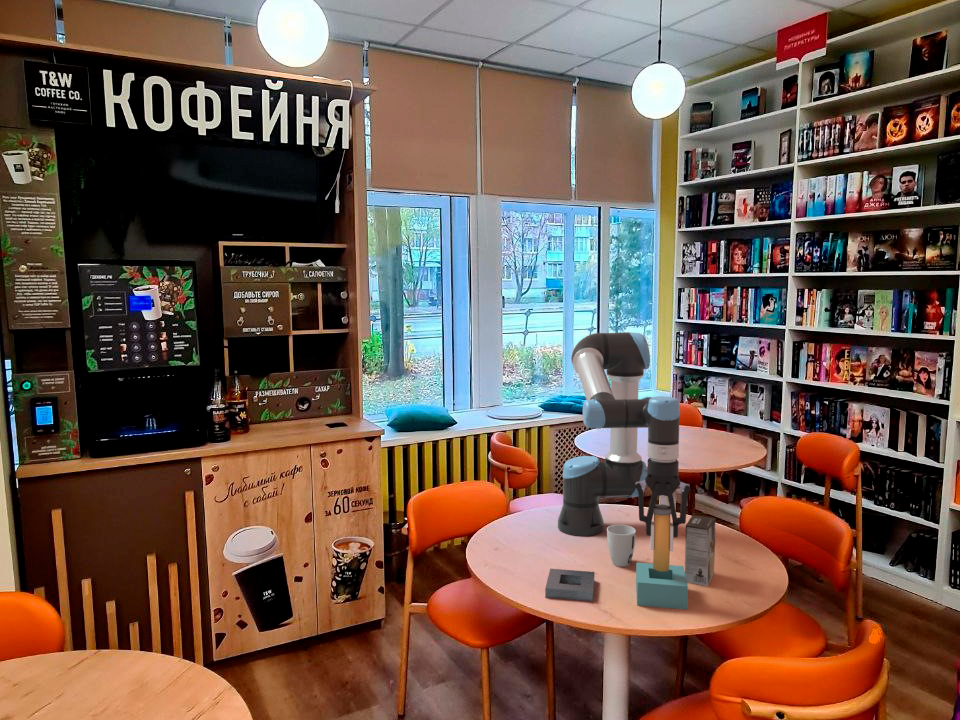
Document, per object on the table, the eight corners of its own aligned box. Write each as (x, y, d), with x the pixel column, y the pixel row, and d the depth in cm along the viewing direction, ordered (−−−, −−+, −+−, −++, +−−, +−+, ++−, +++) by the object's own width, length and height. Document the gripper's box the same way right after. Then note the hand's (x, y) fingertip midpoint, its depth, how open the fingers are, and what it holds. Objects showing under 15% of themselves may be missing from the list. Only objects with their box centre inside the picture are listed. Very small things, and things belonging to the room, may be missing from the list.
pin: (651, 563, 170) (652, 503, 168) (670, 564, 169) (671, 504, 167) (651, 571, 165) (652, 510, 163) (671, 572, 164) (672, 511, 162)
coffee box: (690, 569, 184) (692, 514, 182) (714, 573, 181) (716, 517, 179) (683, 582, 176) (685, 524, 174) (708, 587, 173) (710, 528, 171)
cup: (635, 570, 184) (636, 535, 183) (606, 567, 185) (606, 533, 184) (634, 558, 192) (635, 525, 191) (606, 556, 193) (606, 523, 192)
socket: (636, 584, 175) (636, 562, 174) (682, 587, 173) (683, 566, 172) (637, 605, 163) (637, 582, 163) (687, 609, 161) (687, 586, 160)
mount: (550, 577, 180) (550, 568, 180) (594, 580, 177) (594, 571, 177) (545, 597, 168) (545, 588, 168) (592, 601, 166) (592, 592, 165)
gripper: (628, 461, 162) (627, 551, 165) (700, 464, 159) (698, 556, 161) (628, 453, 170) (627, 540, 172) (696, 456, 166) (694, 545, 168)
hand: (661, 548), depth 167 cm, fingers closed on pin, 4 cm apart
